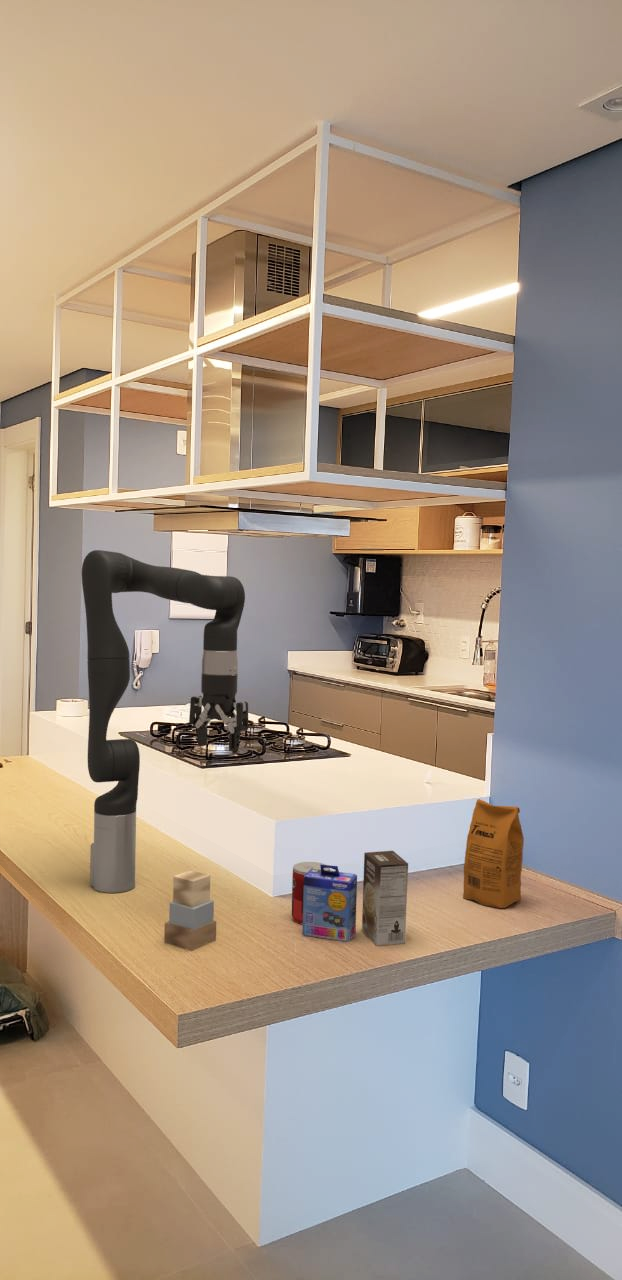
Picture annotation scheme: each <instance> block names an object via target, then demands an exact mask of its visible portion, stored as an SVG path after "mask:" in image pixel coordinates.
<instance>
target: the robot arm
mask: <svg viewBox="0 0 622 1280" xmlns="http://www.w3.org/2000/svg"><path fill="white" fill-rule="evenodd" d="M81 585H82V592H83V600H84V607H85V619H86V637H87V640H86V641H87V680H88V681H87V682H88V683H87V684H88V702H89V703H88V705H89V710H88V713H89V715H88V717H89V718H88V736H87V737H88V738H87V739H88V740H87V770H88V774H89V777H90V779H91V781H93V782H94V783H108V782H109V783H111V782H117V784H116V785H115V786H114V787H113V788H112V789H111V790H109V791H107V792H105V793H104V794H101V795H99V796H98V797H96V798H95V799H94V805H93V807H94V808H93V812H94V813H93V816H94V817H93V821H94V822H93V842H92V843H91V844H90V856H89V857H90V860H89V861H90V864H89V865H90V867H89V868H90V869H89V871H90V872H89V875H90V876H89V886H91V887H92V888H93V889H94V890H95V891H97V892H102V893H112V894H113V893H114V894H115V893H123V892H127V891H130V890H133V889H134V888H135V887H136V855H137V854H136V852H137V851H136V846H137V844H136V843H137V841H136V840H137V802H138V798H139V797H138V795H139V778H140V777H139V776H140V769H141V768H140V766H141V765H140V763H141V761H140V759H141V758H140V757H141V755H140V750H139V749H140V748H139V746H138V744H137V742H136V741H135V740H134V739H132V738H121V739H120V738H119V739H107V732H108V728H109V723H110V719H111V716H112V714H113V713H114V710H115V709H116V707H117V705H118V704H119V702H120V700H121V699H122V697H123V696H124V694H125V692H126V690H127V688H128V686H129V683H130V680H131V679H130V678H131V672H130V671H131V665H130V664H131V663H130V662H131V661H130V658H131V657H130V651H129V647H128V643H127V641H126V638H125V637H124V635H123V633H122V631H121V628H120V626H119V625H118V622H117V620H116V617H115V614H114V610H113V609H114V608H113V594H118V593H132V592H133V593H134V592H138V593H141V592H142V593H148V594H152V595H155V596H157V597H159V598H161V599H165V600H170V601H174V602H179V603H183V604H190V605H193V606H195V607H198V608H200V609H205V610H210V611H215V613H214V614H215V615H214V617H213V620H211V621H209V622H207V623H206V624H205V625H204V627H203V628H204V629H203V641H202V642H203V648H202V649H203V650H202V658H201V676H200V677H201V681H200V684H201V687H200V689H201V690H200V691H201V693H202V695H196V696H191V698H190V703H189V718H188V722H189V724H190V725H193V726H194V727H195V728H196V742H197V746H199V747H204V746H207V745H208V725H209V724H210V722H211V721H212V720H218V721H220V722H223V724H224V725H225V726H226V727H227V728H228V731H229V732H230V733H229V734H228V750H229V752H237V751H238V750H239V748H240V746H241V745H240V741H241V739H240V738H241V733H242V732H245V731H248V730H249V703H248V702H247V701H237V700H236V695H237V693H238V676H239V675H238V671H239V669H238V668H239V666H238V665H239V664H238V663H239V661H238V660H239V659H238V630H239V626H240V623H241V619H242V616H243V611H244V609H245V608H244V607H245V601H246V593H245V588H244V585H243V583H242V582H241V580H240V579H239V578H238V577H235V576H229V575H228V576H226V575H224V576H223V575H221V576H220V575H209V574H208V575H207V574H201V573H199V572H197V571H193V570H189V569H184V568H183V569H182V568H178V567H170V566H160V565H159V566H157V565H153V564H152V565H151V564H149V563H145V562H143V561H140V560H138V559H135V558H133V557H130V556H129V555H126V554H124V553H120V552H116V551H107V550H102V549H101V550H98V549H97V550H96V549H94V550H92V551H90V552H89V553H87V554H86V556H85V557H84V559H83V562H82V566H81ZM202 708H203V709H202Z"/></svg>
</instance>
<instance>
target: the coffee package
mask: <svg viewBox="0 0 622 1280" xmlns="http://www.w3.org/2000/svg"><path fill="white" fill-rule="evenodd" d="M519 813H521V810H520V807H518V806H509V805H506V806H505V805H494V804H491V803H489V802H487V801H485V800H483V799H481V798H478V799H477V800H476V802H475V807H474V809H473V813H472V817H471V821H470V825H469V831H468V833H467V837H466V847H465V854H464V855H465V856H464V863H463V893H462V895H463V896H462V899H465V900H473V901H475V902H477V903H479V904H480V905H482V906H485V907H493V908H498V909H505V908H507V907H509V906H510V905H512V904H513V903H515V902H518V901H520V899H521V898H522V890H521V888H522V887H521V886H522V878H521V875H522V871H523V858H524V856H523V855H524V841H525V840H524V839H525V838H524V833H523V829H522V824H521V821H520V817H519V816H520V815H519Z"/></svg>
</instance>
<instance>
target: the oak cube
mask: <svg viewBox="0 0 622 1280" xmlns="http://www.w3.org/2000/svg"><path fill="white" fill-rule="evenodd" d="M172 882H173V883H172V885H173V888H172V889H173V891H172V892H173V893H172V902H175V903H179V904H182V905H186V906H189V907H195V906H198V905H200V904H203V903H205V902H208V901H210V900H211V874H207V873H202V872H199V871H196V870H192V869H191V870H188V871H185V872H182V873H179V874H177V875H173V879H172Z"/></svg>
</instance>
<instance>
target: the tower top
mask: <svg viewBox="0 0 622 1280" xmlns="http://www.w3.org/2000/svg"><path fill="white" fill-rule="evenodd" d="M214 905H215V901H214V900H211V899H210V901H208V902H205V903H203V904H200V905H198V906H195V907H189V906H186V905H182V904H179V903H175V902H173V901H171V902H169V908H168V910H169V911H168V913H169V917H168V918H169V919H168V921H169V924H173V925H176V926H180V927H184V928H187V929H191V930H195V929H198V928H200V927H202V926H204V925H206V924H209V923H211V922H213V920H214V912H215V911H214V907H215V906H214Z"/></svg>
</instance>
